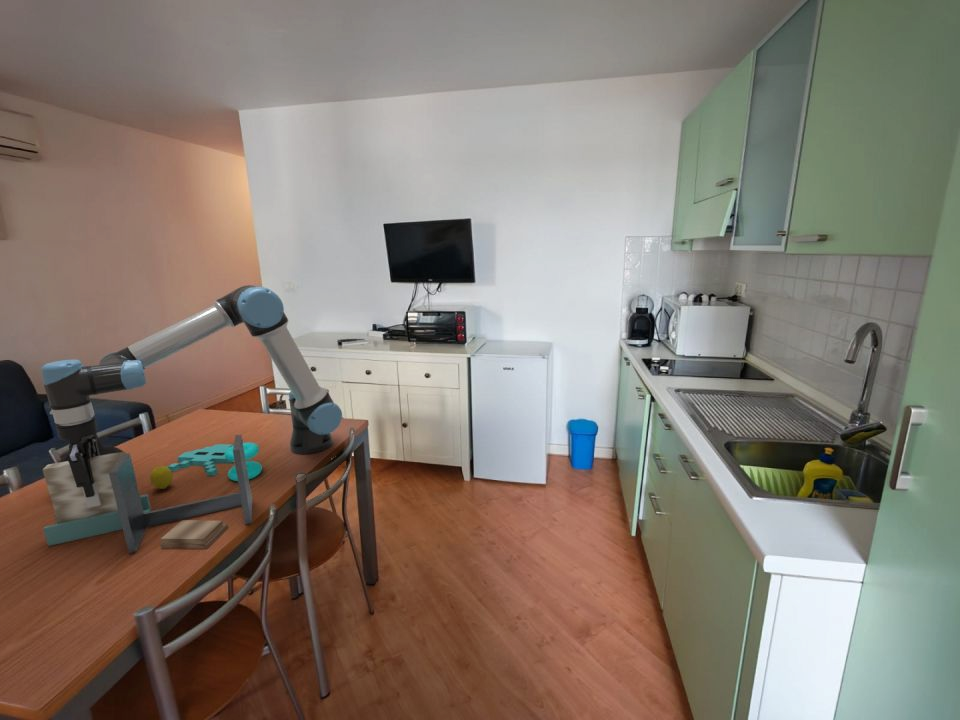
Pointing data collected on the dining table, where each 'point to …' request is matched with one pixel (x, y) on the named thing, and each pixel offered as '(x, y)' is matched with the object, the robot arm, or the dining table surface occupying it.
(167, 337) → the robot arm
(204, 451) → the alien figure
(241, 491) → the rack
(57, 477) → the birch sheet
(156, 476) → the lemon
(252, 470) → the turquoise spool
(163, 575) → the dining table surface
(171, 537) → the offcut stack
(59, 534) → the teal open channel
